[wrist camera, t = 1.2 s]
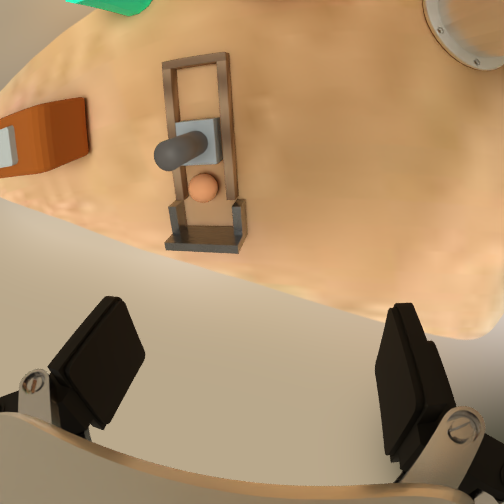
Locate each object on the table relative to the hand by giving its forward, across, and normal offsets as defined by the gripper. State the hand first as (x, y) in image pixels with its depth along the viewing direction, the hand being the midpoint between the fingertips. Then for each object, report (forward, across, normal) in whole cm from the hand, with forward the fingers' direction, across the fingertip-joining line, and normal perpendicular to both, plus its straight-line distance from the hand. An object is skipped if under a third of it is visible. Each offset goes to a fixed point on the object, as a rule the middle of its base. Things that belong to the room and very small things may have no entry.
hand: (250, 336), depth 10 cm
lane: (+27, +10, -5) cm, 29 cm away
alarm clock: (+28, +38, -10) cm, 48 cm away
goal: (+27, +10, +6) cm, 29 cm away
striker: (+27, +10, -4) cm, 29 cm away
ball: (+25, +10, +1) cm, 27 cm away
